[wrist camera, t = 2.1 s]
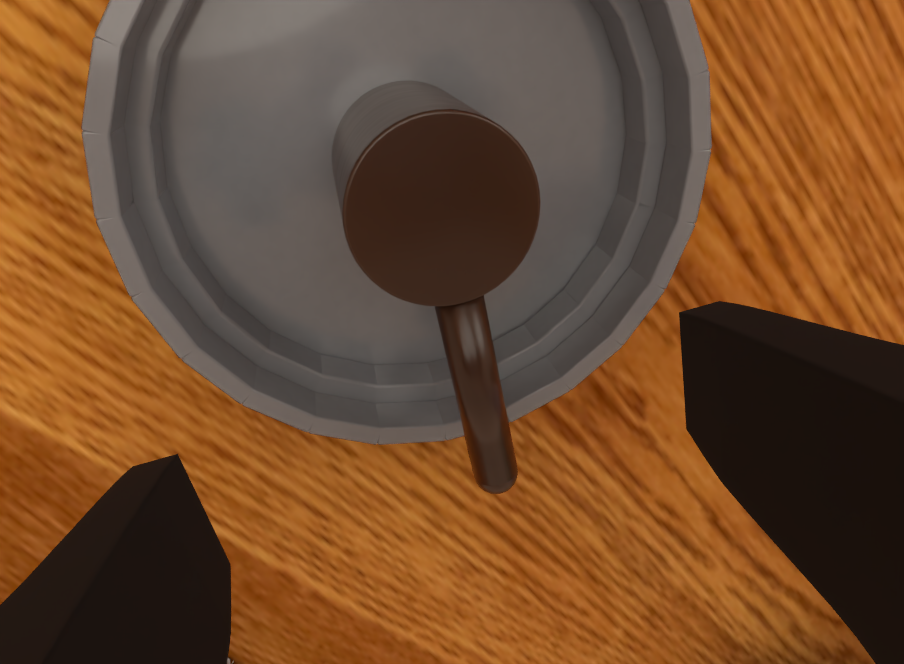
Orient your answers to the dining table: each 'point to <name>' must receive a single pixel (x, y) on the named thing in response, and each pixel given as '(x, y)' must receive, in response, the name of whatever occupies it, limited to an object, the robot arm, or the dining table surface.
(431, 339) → the gray bowl
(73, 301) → the dining table surface
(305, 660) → the dining table surface
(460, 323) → the scoop
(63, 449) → the dining table surface
